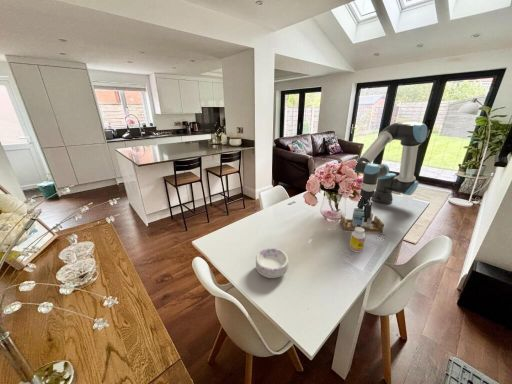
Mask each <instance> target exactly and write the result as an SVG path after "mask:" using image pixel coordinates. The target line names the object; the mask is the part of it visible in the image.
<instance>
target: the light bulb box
mask: <svg viewBox="0 0 512 384" xmlns="http://www.w3.org/2000/svg"><path fill="white" fill-rule="evenodd" d="M352 212H353V213H352V217H351V219H352V227H361V228H370V227H371V222H372V220H373V219H374V212H373V210H372V209H371V216H370V218H368V221H367V226H361V225H362V220H363V216H364V208H363V209H359V208H358V207H357V208H356V207H354V208H353V211H352Z"/></svg>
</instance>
